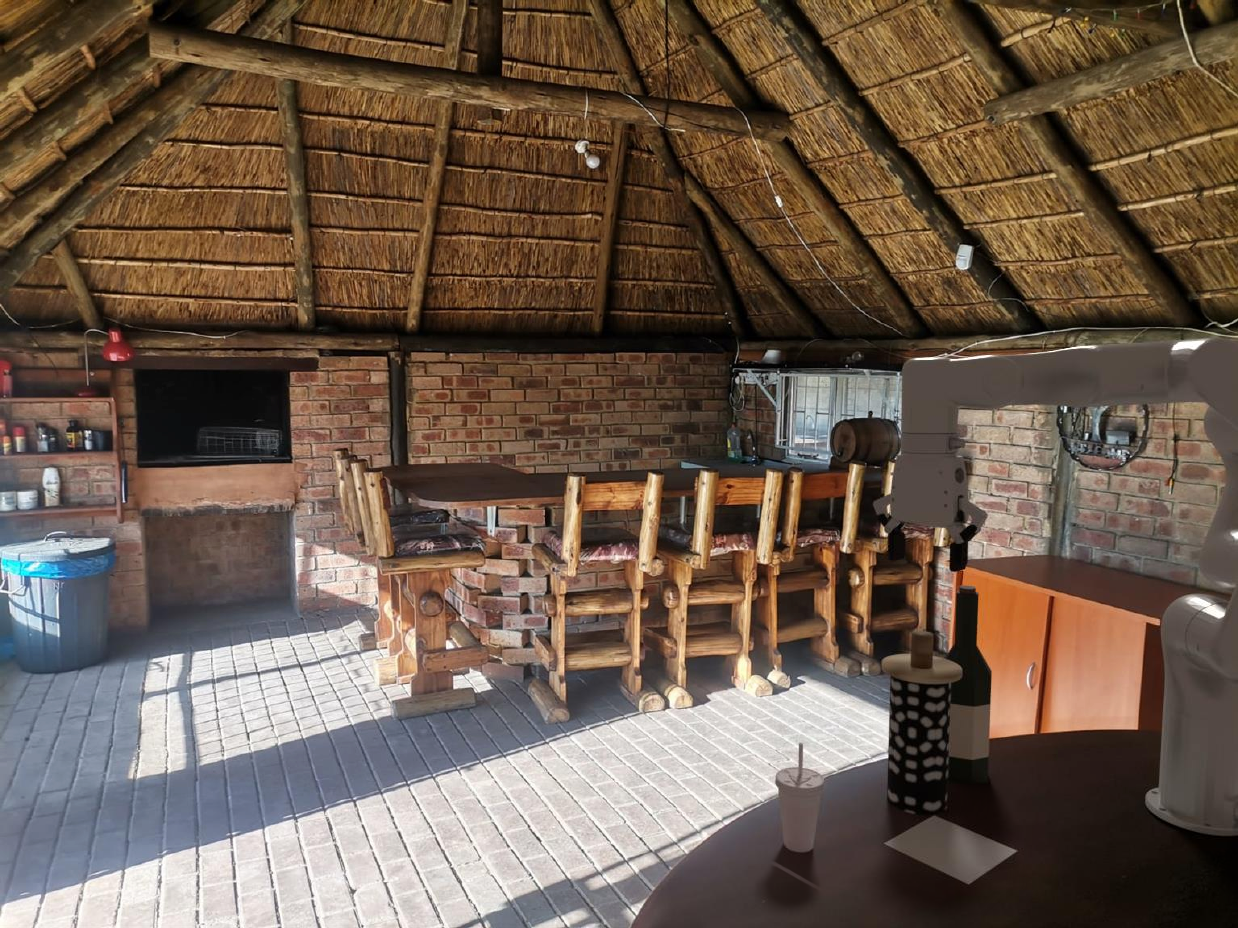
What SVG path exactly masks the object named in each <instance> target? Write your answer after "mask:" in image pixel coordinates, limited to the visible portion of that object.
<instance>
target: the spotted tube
mask: <svg viewBox="0 0 1238 928" xmlns="http://www.w3.org/2000/svg"><path fill="white" fill-rule="evenodd" d="M889 677H890V678H889V709H888V710H889V712H888V713H889V716H888V717H889V718H888V747H887V748H888V749H887V750H888V751H887V785H886V786H887V787H886V798H887V799H886V800H887V801H888V802H889V803H890V805H891V806H893V807H894V808H897V809H898V810H899V811H903V812H906V813H908V814H909V813H910V814H914V815H919V816H920V815H921V816H931V815H933V816H935V815H938V814H942V813H943V812H944V811H946V809H947V808H948V788H949V787H948V786H949V785H948V783H949V780H948V762H949V732H950V702H951V683H946V684H923V683H915V682H909V681H904V680H901V679H897V678H895V677H892V676H890V675H889Z"/></svg>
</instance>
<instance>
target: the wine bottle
mask: <svg viewBox="0 0 1238 928" xmlns="http://www.w3.org/2000/svg"><path fill="white" fill-rule="evenodd" d="M955 595H956V596H955V620H954V621H955V627H954V630H955V631H954V644H953V645H952V647H951V648H950V649H949V650H948V652H947V654H946V655H945V656H944V657H943V658H944V659H947V660H950V661H952V662H955V663H957V664H958V665H959V666H961V668H962V678H961V679H960V680H958V681H955V682H952V683H951V702H950V732H949V762H948V781H951V782H957V783H963V784H969V785H973V784H974V785H975V784H981V785H983V784H987V782H988V783H989V758H990V757H989V755H990V754H989V753H990V733H991V732H990V729H991V727H990V726H991V705H992V704H991V703H992V702H991V701H992V699H991V698H992V679H993V678H992V674H993V672H992V669H991V668H990V666H989V664H988V662H987V660H986V658H985V657H984V656H983V654H982V652H981V650H980V648H979V646H978V622H979V621H978V620H979V619H978V618H979V592H978V591H977V588H976V586H973V585H959V590H956V593H955Z"/></svg>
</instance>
